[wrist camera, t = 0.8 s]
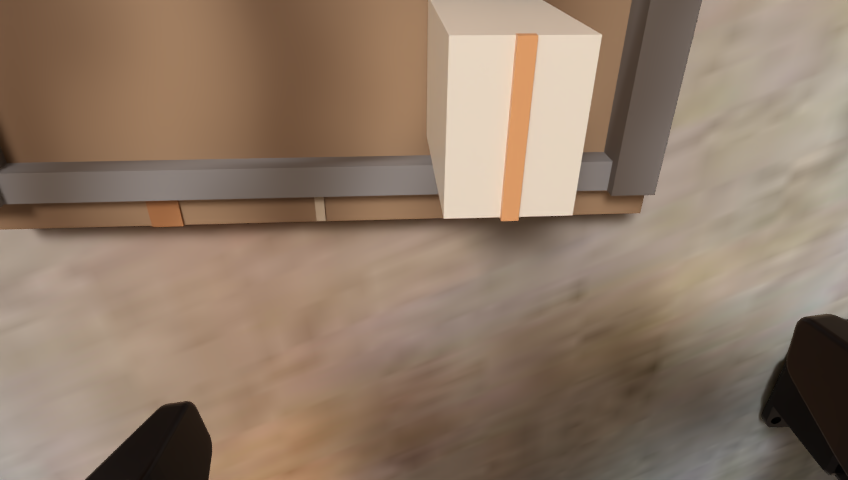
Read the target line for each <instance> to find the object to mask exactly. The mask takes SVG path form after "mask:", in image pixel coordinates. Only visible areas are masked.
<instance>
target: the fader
mask: <svg viewBox="0 0 848 480" xmlns="http://www.w3.org/2000/svg"><path fill="white" fill-rule="evenodd" d="M601 39H602V34H600V33H598V32H597V31H595V30H593V29H592V28H590V27H588V26H586V25H585V24H583V23H581V22H580V21H578V20H576V19H574V18H573V17H571V16H569V15H567V14H566V13H564V12H562V11H561V10H559V9H557V8H555V7H554V6H552V5H550V4H549V3H547V2H545V1H543V0H428V51H427V140H428V145H429V150H430V155H431V159H432V164H433V169H434V174H435V179H436V184H437V189H438V194H439V199H440V203H441V208H442V213H443V218H444V219H452V218H491V217H500V220H501V221H518V220H519V217H529V216H568V215H573V209H574V203H575V197H576V191H577V185H578V179H579V173H580V167H581V161H582V155H583V148H584V142H585V136H586V130H587V124H588V118H589V112H590V106H591V100H592V94H593V87H594V81H595V75H596V69H597V63H598V57H599V51H600V45H601Z"/></svg>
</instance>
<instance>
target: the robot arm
mask: <svg viewBox="0 0 848 480" xmlns="http://www.w3.org/2000/svg"><path fill="white" fill-rule="evenodd" d="M762 419H763V421H764V422H765V424H766V425H767V426H769V427H790V428H791V430H792V431H793V432H794V433H795V435H796V436H797V437H798V439H799V440H800V441H801V442H802V444H803V445H804V446H805V447H806V449H807V450H808V451H809V453H810V454H811V455H812V456H813V458H814V459H815V460H816V461H817V463H818V464H819V465H820V467H821V468H822V469H823V470H824V471H825V472H826V473H827V474H829V475H835V476H836V477H837V478H838V480H848V320H845V319H843V318H840V317H838V316H835V315H832V314H823V315H815V316H808V317H803V318H801V319H800V320H799V321H798V322H797V324H796V327H795V330H794V334H793V337H792V340H791V344H790V347H789V351H788V354H787V361H786V363H785V365H784V367H783V369H782V372H781V374H780V376H779V378H778V380H777V383H776V385H775V387H774V389H773V391H772V394H771V396H770V398H769V400H768V402H767V404H766V407H765V409H764V411H763V413H762ZM211 457H212V442H211V438H210V435H209V433H208V431H207V429H206V427H205V424H204V422H203V420H202V418H201V416H200V414H199V412H198V410H197V408H196V406H195V405H194V404H193V403H192V402H189V401H184V402H177V403H170V404H165V405H163V406H161V407H160V408H159V409H157V410H156V411H155V412H154V413H153V414H152V415H151V416H150V417H149V418H148V419H147V420H146V421H145V422H144V423H143V424H142V425H141V426H140V427H139V428H138V429H137V430H136V431H135V432H134V433H133V434H132V435H131V436H130V437H129V438H127V439H126V440H125V441H124V442H123V443H122V444H121V445H120V446H119V447H118V448H117V449H116V450H115V451H114V452H113V453H112V454H111V455H110V456H109V457H108V458H107V459H106V460H105V461H104V462H103V463H102V464H101V465H100V466H99V467H98V468H97V469H95V470H94V471H93V472H92V473H91V474H90V475H89V476H88V477H87V478H86V479H85V480H208V479H209V471H210V464H211Z"/></svg>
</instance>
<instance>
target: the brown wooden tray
mask: <svg viewBox="0 0 848 480" xmlns="http://www.w3.org/2000/svg"><path fill="white" fill-rule="evenodd" d="M543 1H545V2H547V3H549V4H550V5H552V6H554V7H555V8H557V9H559V10H561V11H562V12H564V13H566V14H567V15H569V16H571V17H573V18H574V19H576V20H578V21H580V22H581V23H583V24H585V25H586V26H588V27H590V28H592V29H593V30H595V31H597V32H598V33H600V34H602V39H601V45H600V51H599V57H598V63H597V69H596V75H595V81H594V87H593V94H592V100H591V106H590V112H589V118H588V124H587V130H586V136H585V142H584V148H583V155H582V161H581V167H580V173H579V179H578V185H577V191H576V197H575V203H574V209H573V215H582V214H621V213H640V211H641V207H642V203H643V198H644V195H655V190H656V186H657V182H658V178H659V174H660V170H661V166H662V162H663V158H664V154H665V150H666V145H667V141H668V137H669V133H670V129H671V125H672V121H673V117H674V113H675V109H676V105H677V100H678V96H679V92H680V88H681V84H682V80H683V76H684V72H685V68H686V64H687V59H688V55H689V51H690V47H691V43H692V39H693V35H694V31H695V27H696V23H697V19H698V14H699V10H700V6H701V2H702V0H543ZM427 51H428V0H0V229H37V228H76V227H115V226H152V227H172V226H184V225H193V224H231V223H270V222H309V221H348V220H387V219H426V218H443V213H442V208H441V203H440V199H439V194H438V189H437V184H436V179H435V174H434V169H433V164H432V159H431V155H430V150H429V145H428V140H427Z"/></svg>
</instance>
